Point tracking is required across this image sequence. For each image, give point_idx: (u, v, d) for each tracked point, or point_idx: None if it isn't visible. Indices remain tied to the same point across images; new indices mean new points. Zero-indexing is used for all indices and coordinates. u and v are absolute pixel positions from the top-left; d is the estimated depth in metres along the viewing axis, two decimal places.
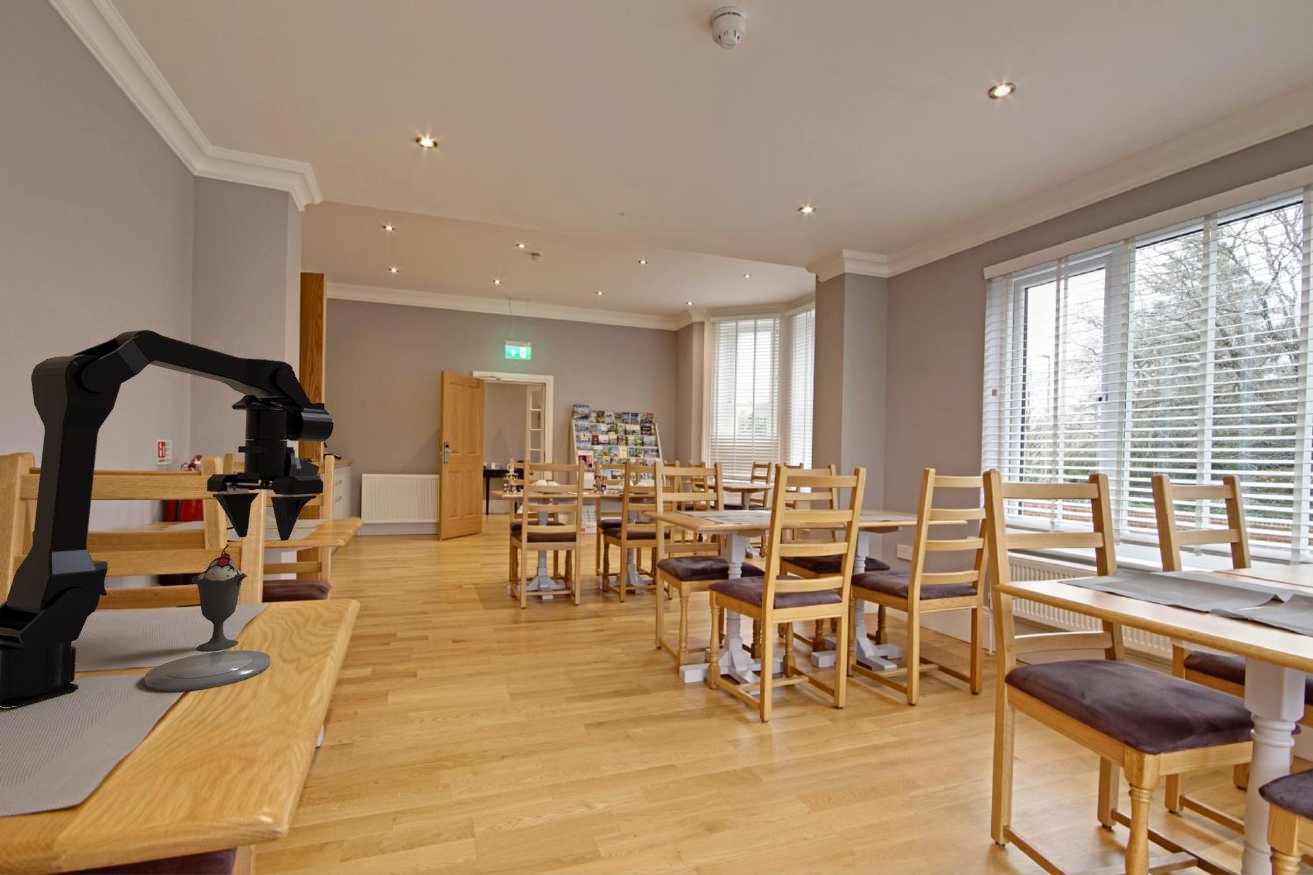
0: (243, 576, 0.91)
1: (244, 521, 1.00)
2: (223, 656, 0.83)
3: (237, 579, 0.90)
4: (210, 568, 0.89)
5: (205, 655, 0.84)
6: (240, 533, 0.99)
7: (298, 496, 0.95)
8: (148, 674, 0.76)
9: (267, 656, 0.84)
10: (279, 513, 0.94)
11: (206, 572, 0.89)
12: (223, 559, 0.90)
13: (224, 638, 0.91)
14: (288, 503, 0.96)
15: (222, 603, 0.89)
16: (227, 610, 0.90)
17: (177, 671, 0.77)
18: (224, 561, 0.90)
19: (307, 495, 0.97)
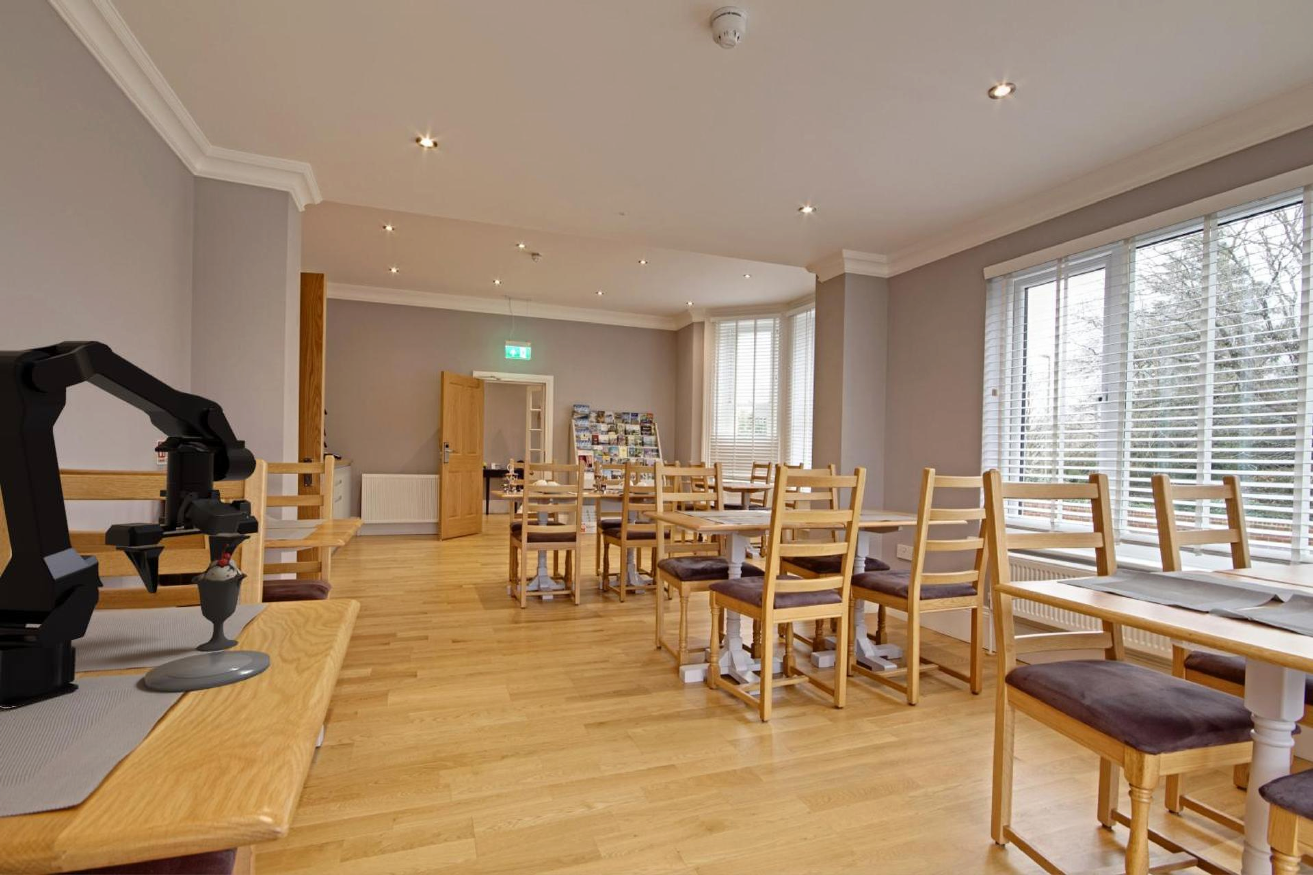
0: (243, 576, 0.91)
1: None
2: (223, 656, 0.83)
3: (237, 579, 0.90)
4: (210, 568, 0.89)
5: (205, 655, 0.84)
6: None
7: (125, 547, 0.86)
8: (148, 674, 0.76)
9: (267, 656, 0.84)
10: None
11: (206, 572, 0.89)
12: (223, 559, 0.90)
13: (224, 638, 0.91)
14: (142, 553, 0.88)
15: (222, 603, 0.89)
16: (227, 610, 0.90)
17: (177, 671, 0.77)
18: (224, 561, 0.90)
19: (132, 547, 0.86)
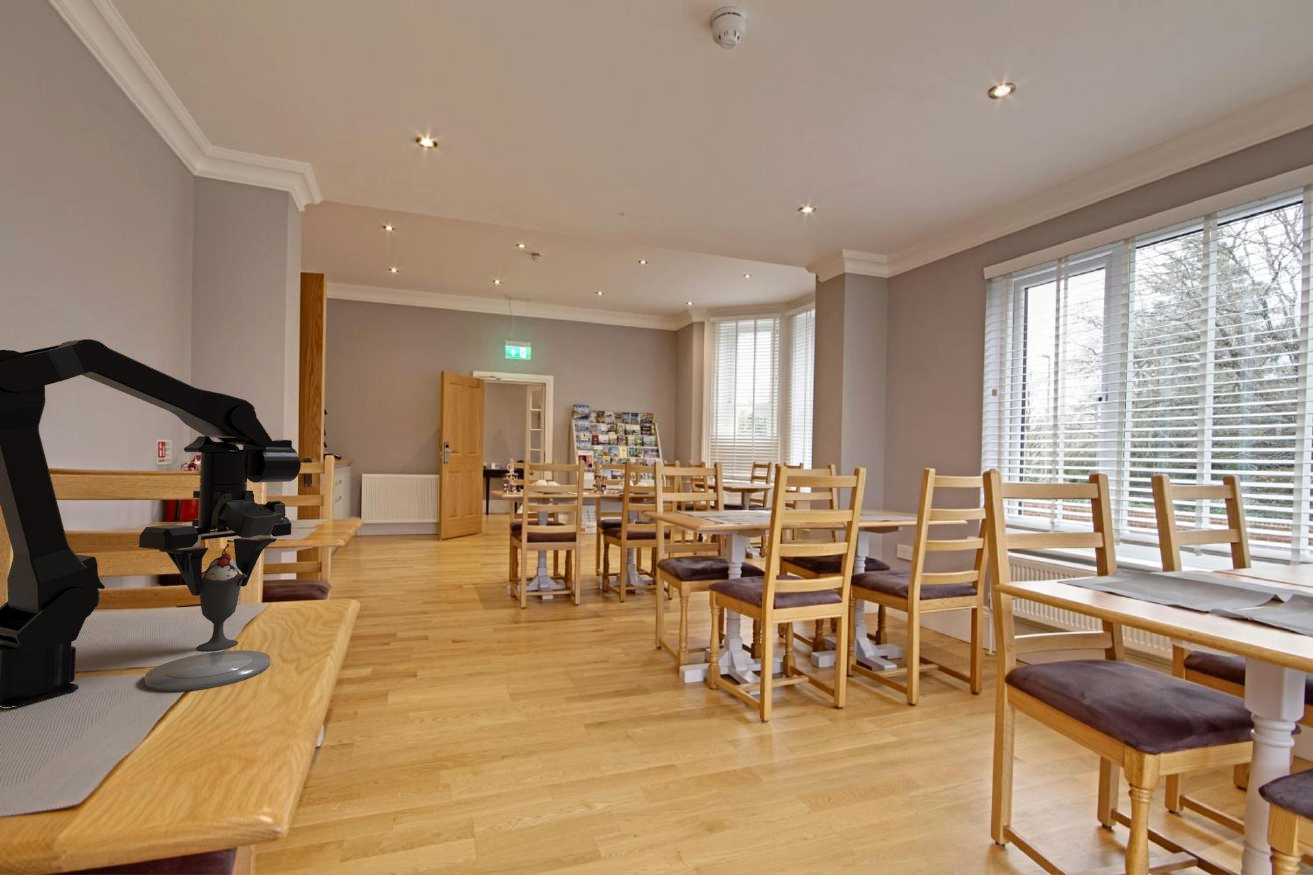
0: (243, 576, 0.91)
1: (243, 569, 0.94)
2: (223, 656, 0.83)
3: (237, 579, 0.90)
4: (210, 567, 0.89)
5: (205, 655, 0.84)
6: None
7: None
8: (148, 674, 0.76)
9: (267, 656, 0.84)
10: None
11: (206, 572, 0.89)
12: (223, 559, 0.90)
13: (224, 638, 0.91)
14: (185, 555, 0.87)
15: (222, 603, 0.89)
16: (227, 610, 0.90)
17: (177, 671, 0.77)
18: (224, 561, 0.90)
19: (177, 548, 0.84)
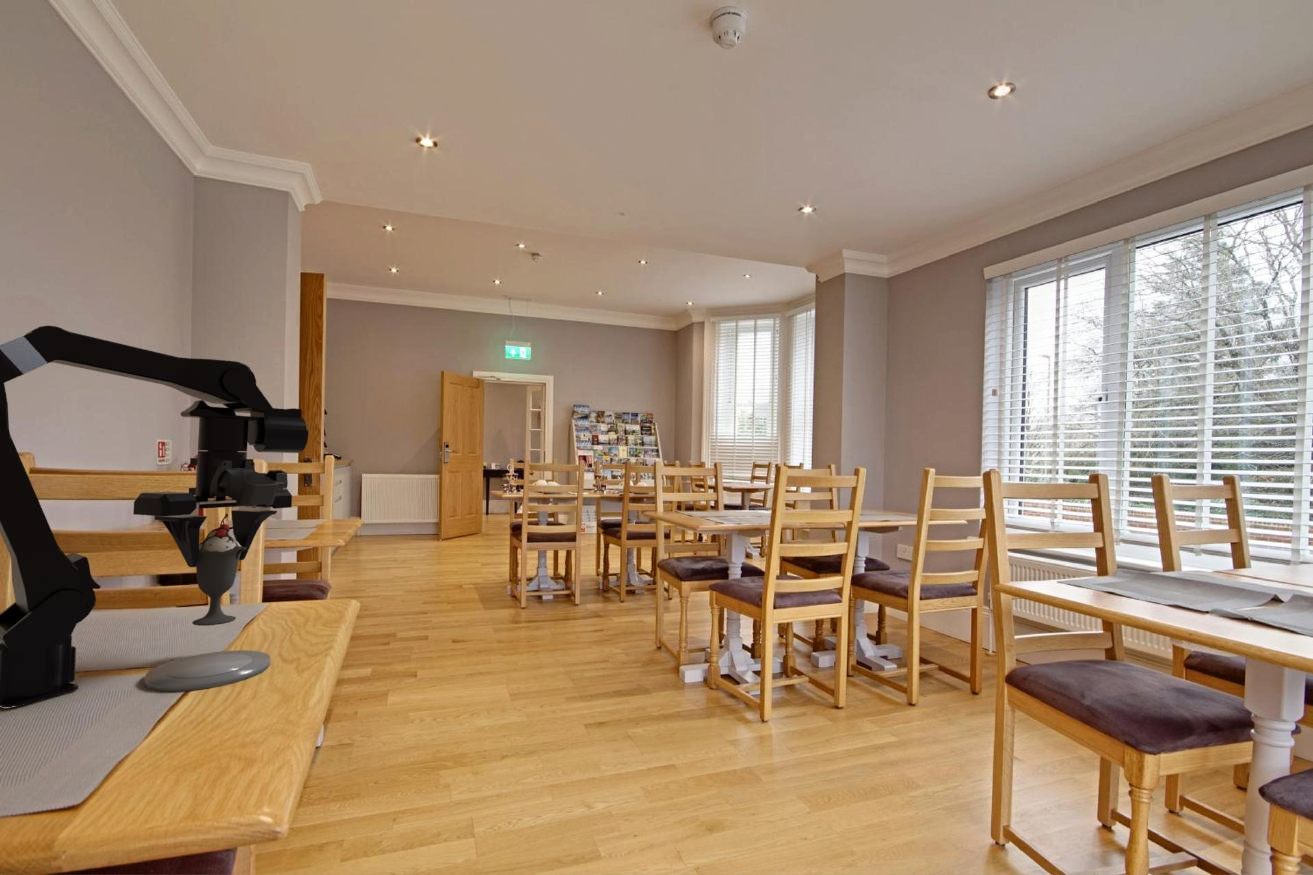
0: (243, 548, 0.87)
1: (241, 542, 0.90)
2: (223, 656, 0.83)
3: (236, 551, 0.86)
4: (207, 538, 0.85)
5: (205, 655, 0.84)
6: None
7: (165, 516, 0.81)
8: (148, 674, 0.76)
9: (267, 656, 0.84)
10: None
11: (204, 543, 0.85)
12: (222, 529, 0.86)
13: (221, 613, 0.86)
14: (182, 524, 0.83)
15: (220, 575, 0.85)
16: (225, 583, 0.86)
17: (177, 671, 0.77)
18: (223, 531, 0.85)
19: (173, 516, 0.80)
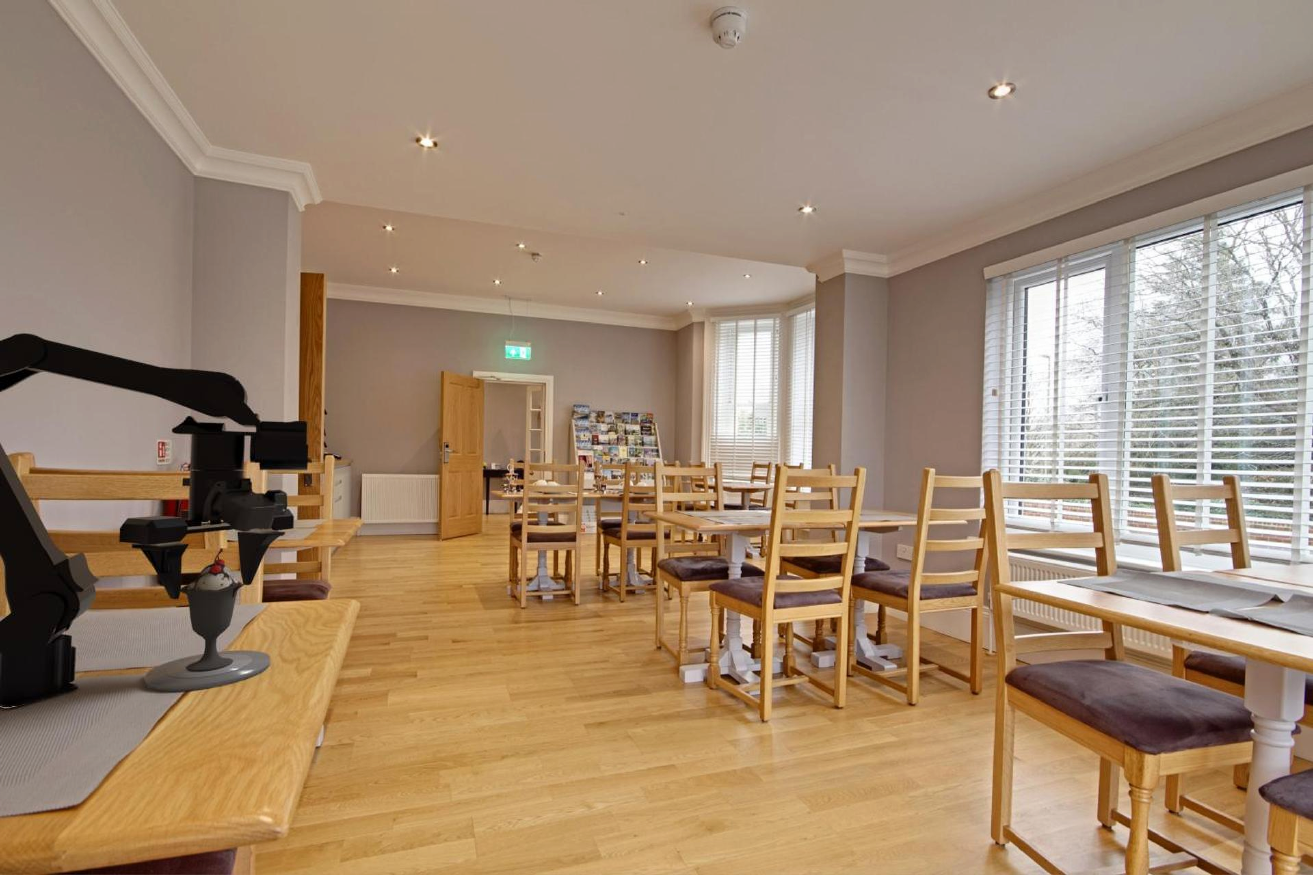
0: (239, 585, 0.80)
1: (248, 566, 0.84)
2: (223, 656, 0.83)
3: (232, 588, 0.80)
4: (201, 576, 0.79)
5: None
6: (244, 579, 0.84)
7: (143, 544, 0.73)
8: (148, 674, 0.76)
9: (267, 656, 0.84)
10: None
11: (197, 581, 0.78)
12: (216, 566, 0.79)
13: (217, 656, 0.80)
14: (162, 552, 0.75)
15: (215, 616, 0.78)
16: (221, 624, 0.79)
17: (177, 671, 0.77)
18: (218, 568, 0.79)
19: (151, 544, 0.72)
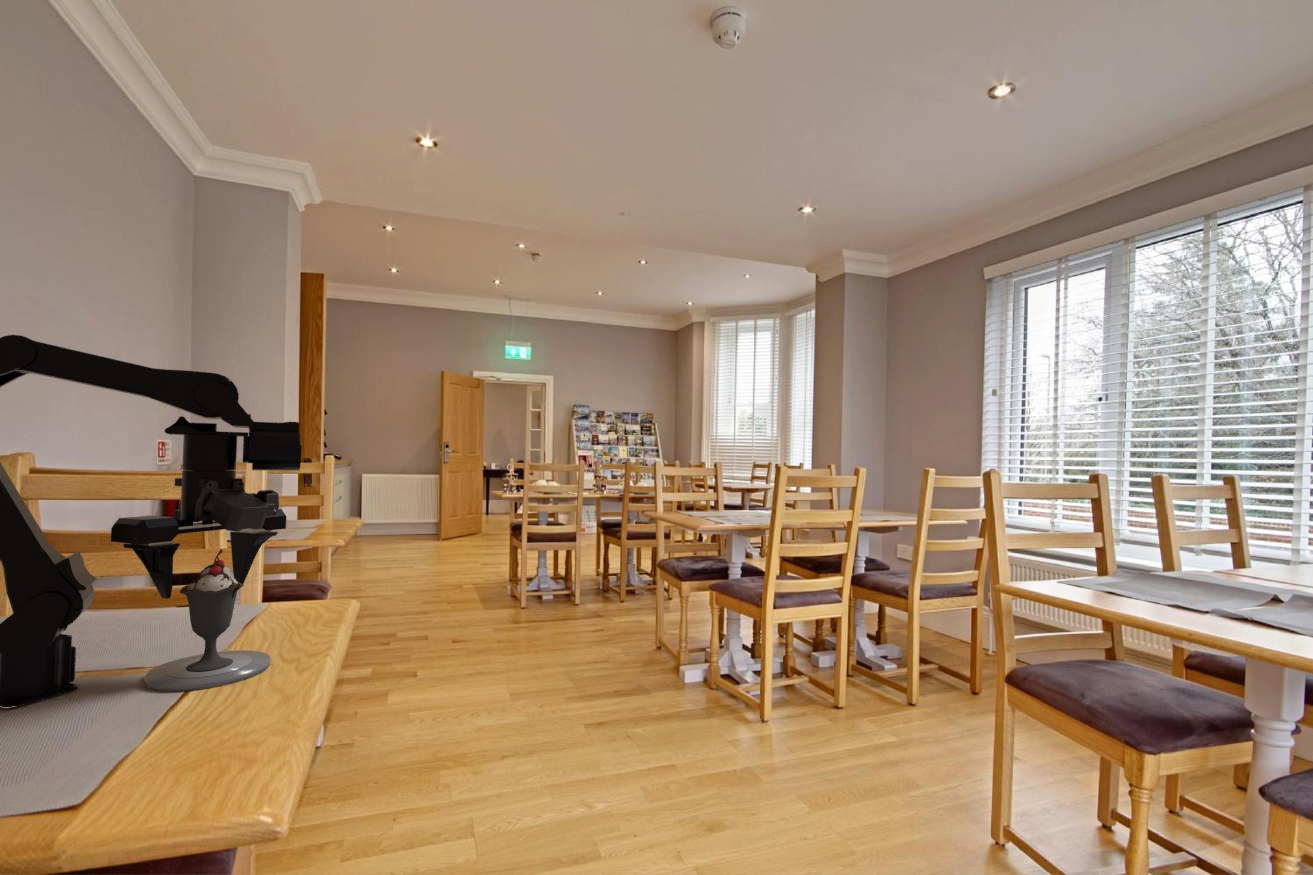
0: (239, 586, 0.80)
1: (240, 566, 0.85)
2: (223, 656, 0.83)
3: (232, 589, 0.79)
4: (201, 576, 0.78)
5: None
6: (237, 579, 0.85)
7: (134, 544, 0.73)
8: (148, 674, 0.76)
9: (267, 656, 0.84)
10: None
11: (197, 581, 0.78)
12: (216, 567, 0.79)
13: (217, 656, 0.80)
14: (154, 551, 0.75)
15: (215, 617, 0.78)
16: (221, 625, 0.79)
17: (177, 671, 0.77)
18: (217, 569, 0.79)
19: (143, 544, 0.73)
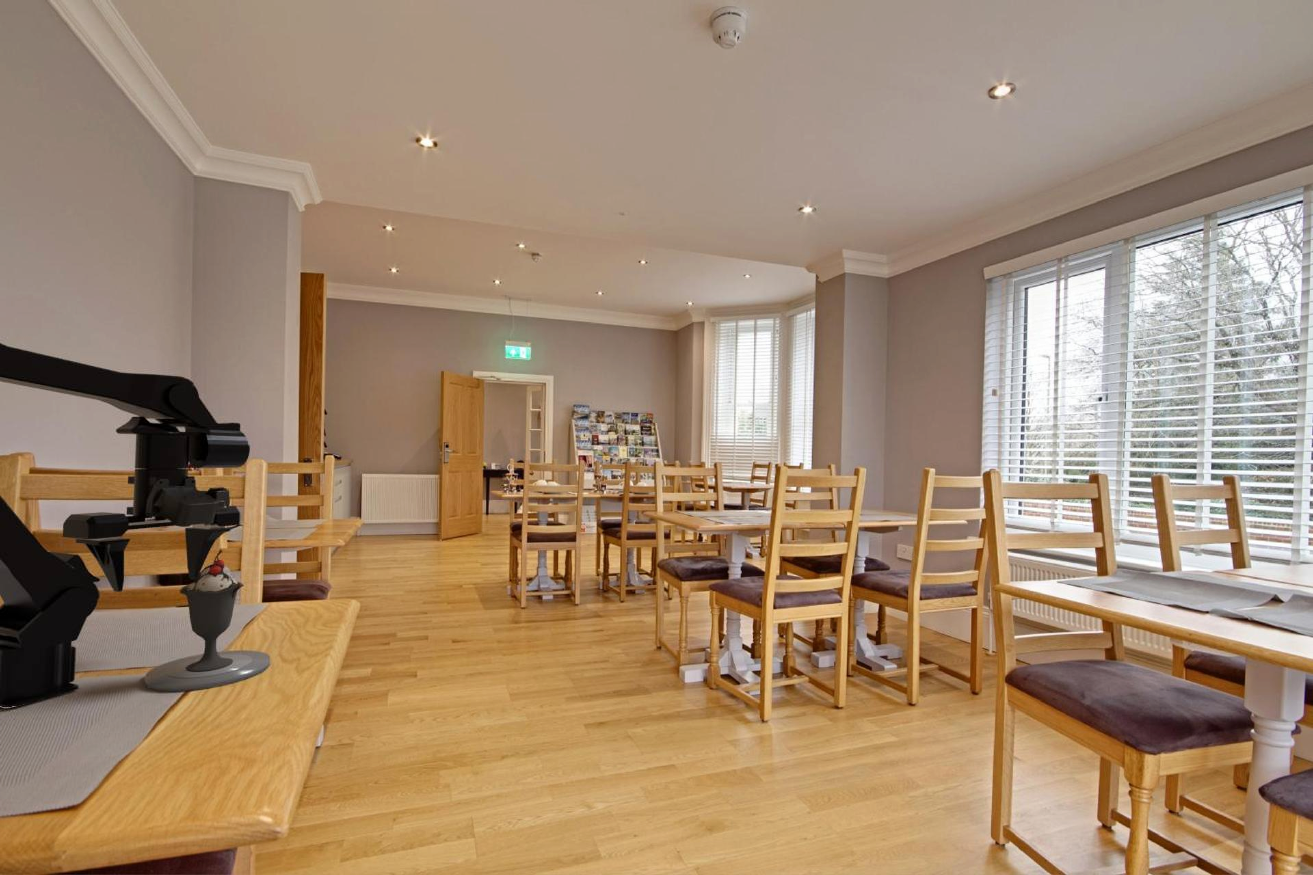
0: (239, 586, 0.80)
1: (194, 561, 0.88)
2: (223, 656, 0.83)
3: (232, 589, 0.79)
4: (200, 577, 0.78)
5: None
6: (191, 573, 0.88)
7: (85, 539, 0.77)
8: (148, 674, 0.76)
9: (267, 656, 0.84)
10: None
11: (196, 581, 0.78)
12: (216, 567, 0.79)
13: (217, 656, 0.80)
14: (106, 546, 0.79)
15: (215, 617, 0.78)
16: (221, 625, 0.79)
17: (177, 671, 0.77)
18: (217, 569, 0.79)
19: (93, 539, 0.76)
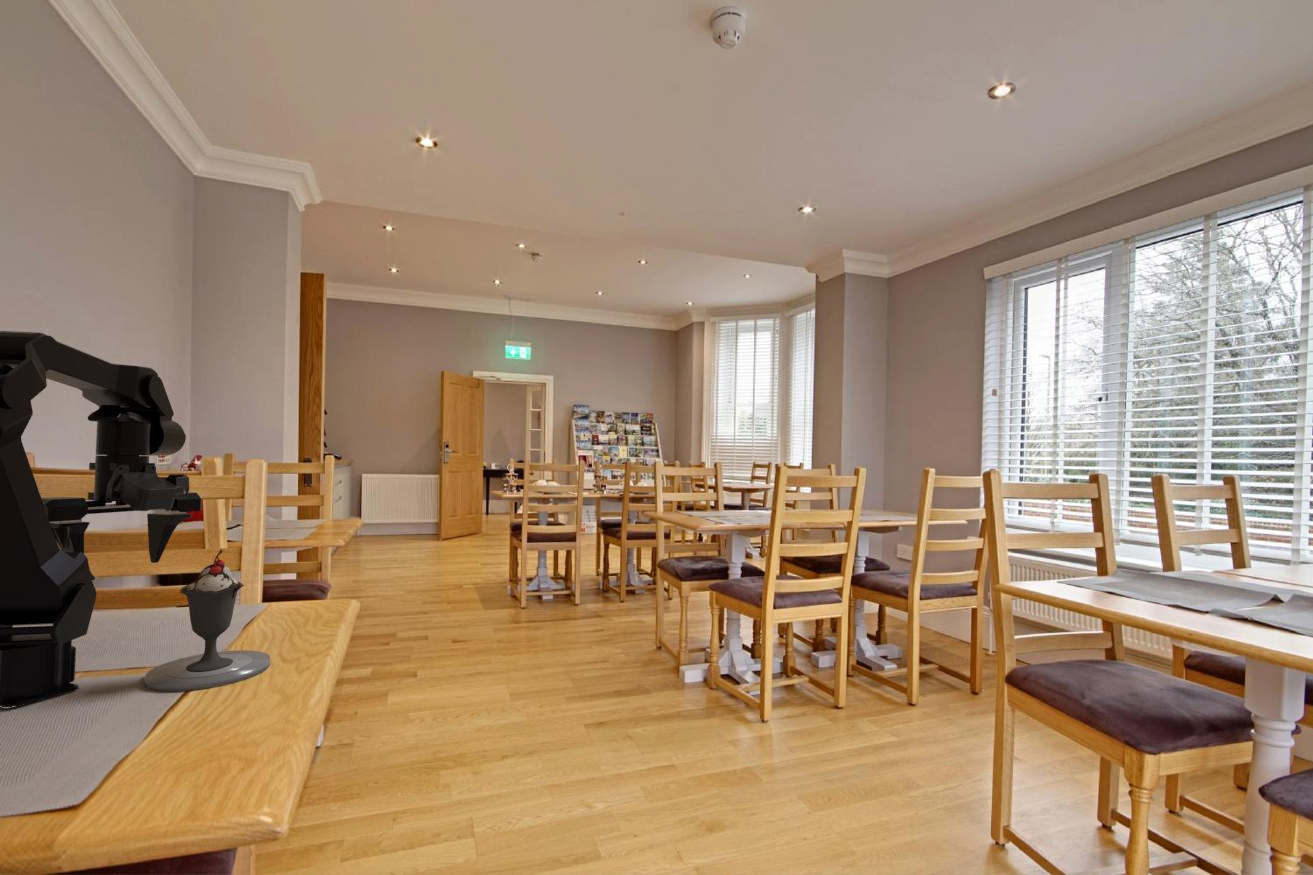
0: (239, 586, 0.80)
1: (155, 545, 0.91)
2: (223, 656, 0.83)
3: (232, 589, 0.79)
4: (201, 576, 0.78)
5: None
6: (152, 557, 0.91)
7: None
8: (148, 674, 0.76)
9: (267, 656, 0.84)
10: None
11: (197, 581, 0.78)
12: (216, 567, 0.79)
13: (217, 656, 0.80)
14: (66, 530, 0.81)
15: (215, 617, 0.78)
16: (221, 625, 0.79)
17: (177, 671, 0.77)
18: (217, 569, 0.79)
19: (53, 522, 0.79)
